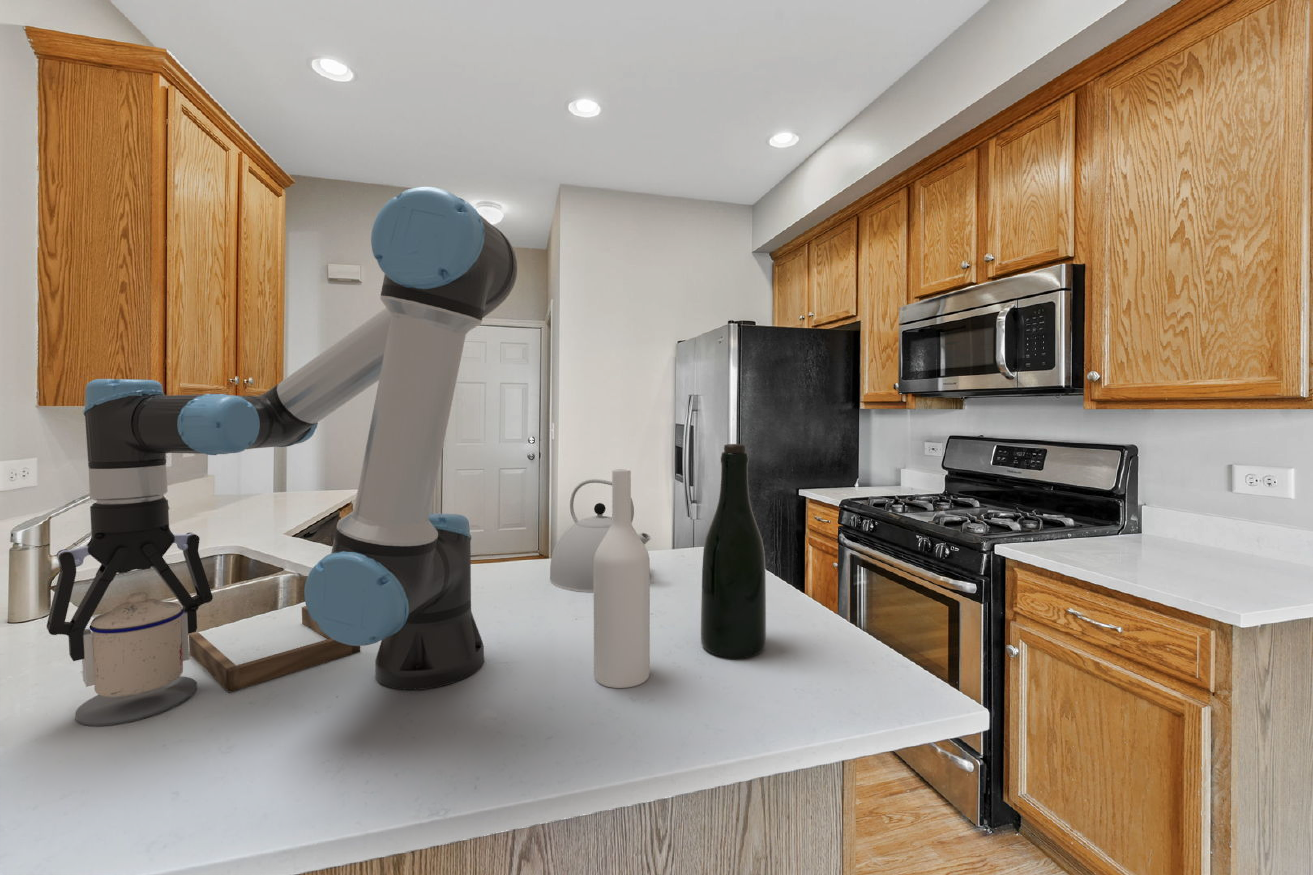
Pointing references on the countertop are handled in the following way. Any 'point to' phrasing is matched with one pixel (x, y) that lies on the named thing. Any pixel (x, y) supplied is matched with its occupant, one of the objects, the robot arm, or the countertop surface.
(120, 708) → the coaster
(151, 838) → the countertop surface
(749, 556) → the dark green wine bottle
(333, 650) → the wooden tray
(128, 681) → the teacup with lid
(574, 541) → the kettle
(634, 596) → the bottle
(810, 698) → the countertop surface
